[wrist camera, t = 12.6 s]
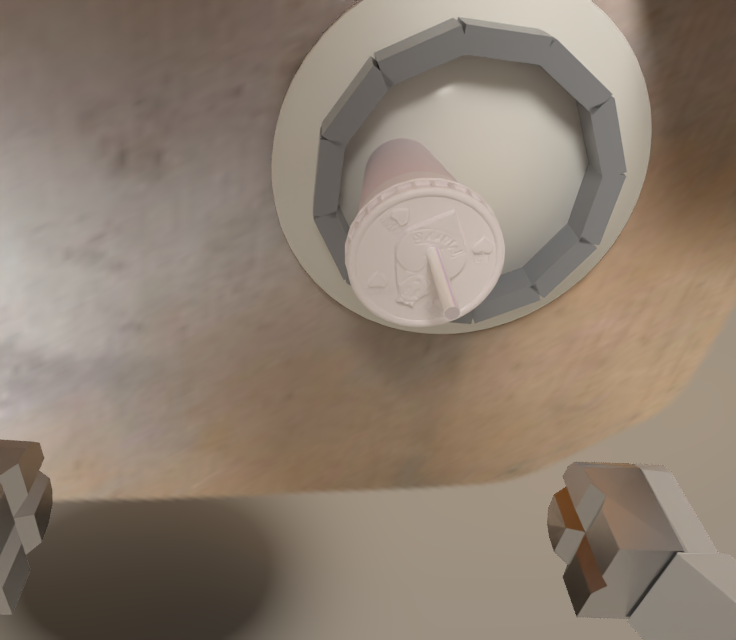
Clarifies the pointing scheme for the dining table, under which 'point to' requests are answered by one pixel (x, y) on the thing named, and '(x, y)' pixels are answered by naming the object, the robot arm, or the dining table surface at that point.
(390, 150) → the smoothie
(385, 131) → the ring plate
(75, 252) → the dining table surface
